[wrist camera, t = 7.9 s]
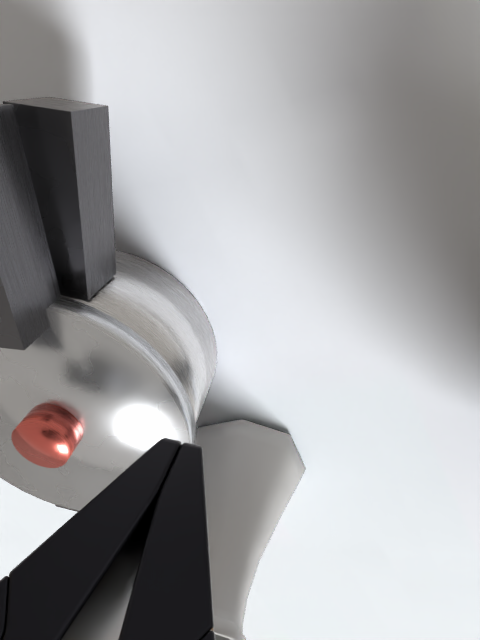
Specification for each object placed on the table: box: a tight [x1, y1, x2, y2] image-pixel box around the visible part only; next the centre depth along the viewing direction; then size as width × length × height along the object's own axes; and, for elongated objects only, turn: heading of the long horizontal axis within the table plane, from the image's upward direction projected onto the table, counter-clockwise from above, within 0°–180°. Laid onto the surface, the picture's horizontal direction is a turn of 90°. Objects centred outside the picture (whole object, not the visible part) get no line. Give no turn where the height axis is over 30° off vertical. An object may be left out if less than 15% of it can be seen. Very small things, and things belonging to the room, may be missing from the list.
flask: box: [195, 419, 306, 640], centre depth 22 cm, size 7×7×10 cm
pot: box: [3, 97, 217, 512], centre depth 20 cm, size 20×11×5 cm, turn 174°
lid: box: [0, 104, 196, 511], centre depth 16 cm, size 18×12×2 cm, turn 1°
